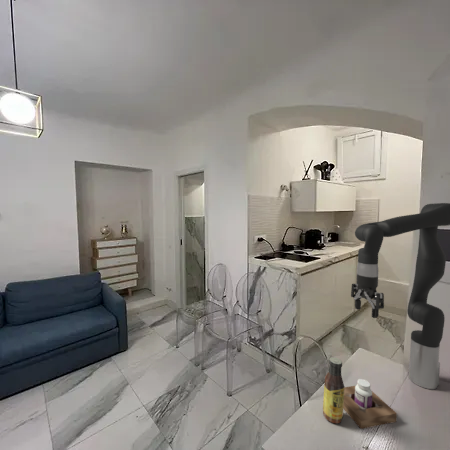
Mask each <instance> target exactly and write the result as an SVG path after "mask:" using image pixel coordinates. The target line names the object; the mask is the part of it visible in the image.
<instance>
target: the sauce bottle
mask: <svg viewBox="0 0 450 450" xmlns="http://www.w3.org/2000/svg"><path fill="white" fill-rule="evenodd" d="M328 363H329V370H328V372H327V373H326V375H325V376H324V385H323V401H322V402H323V404H322V414H323V416H324V418H325V419H326V420H327V421H328V422H330V423H333V424H340V423H341V422H342V419H343V417H344V409H343V403H344V387H345V384H344V381H343V377H342V367H343V361H342V360H341V359H340V358H338V357H333V356H331V357H330V358H329V361H328Z"/></svg>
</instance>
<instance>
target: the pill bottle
mask: <svg viewBox="0 0 450 450" xmlns="http://www.w3.org/2000/svg"><path fill="white" fill-rule="evenodd" d="M354 386H355V403H356V404H357V405H358V406H360V407H362V408H365V409H368V408H372V391H373V390H372V389H371V383H370V382H369V381H368V380H367V379H364V378H363V379H362V378H358V379H357V383H356V385H354Z"/></svg>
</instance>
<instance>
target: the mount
mask: <svg viewBox="0 0 450 450" xmlns="http://www.w3.org/2000/svg"><path fill="white" fill-rule="evenodd" d="M355 386H356V385H350V386H344V403H343V411H345V413H346V414H347V415H348V416H349V417H350V418H351V419H352V421H353V422H354V423H355V424H356V425H357V426H358V427H359V428H360V430H365V429H369V428H373V427H378V426H382V425H388V424H392V423H397V419H398V418H397V416H398V415H397V414H398V413H397V411H395V410H394V409H393V408H392V407H391V406H389V404H387V403H386V401H384V400H383V399H382V398H381V397H379V395H378V394H376V393H375V392H374V391H373V390H371V391H372V408H368V409H365V408H362V407H360V406H358V405H357V404H356V403H355Z"/></svg>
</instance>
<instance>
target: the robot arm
mask: <svg viewBox="0 0 450 450" xmlns="http://www.w3.org/2000/svg"><path fill="white" fill-rule="evenodd" d="M445 226H446V227H447V226H450V203H449V202H439V203H437V202H435V203H426V204H425V205H424V206H423V207H422V208H421V210H420V213H416V214H415V213H414V214H409V215H408V214H407V215H406V214H405V215H400V216H396V217H392V218H388V219H384V220H381V221H375V222H373V221H372V222H368V223H364V224H361V225H359V226H357V228H356V229H355V231H354V235H355V238H356V239H358V240H359V241H361V242H364V246H363V247H361V248H359V249H358V252H357V266H356V281H355V283H352V284H351V287H350V288H351V291H350V297H351V298H353V300H354V308H355V310H361V309H362V299H365V300H366V301H368V303H369V304H370V305H371V318H373V319H376V318H377V319H378V317H379V311H380V310H382V309H384V308H385V294H384V293H383V292H378V291H377V288H378V287H379V252H380V251H381V248H382V244H383V241H384V238H389V237H390V238H391V237H395V236H399V235H402V234H405V233H410V232H414V231H417V230H419V237H418V246H417V247H418V248H417V255H416V263H415V268H414V269H415V271H414V277H413V284H412V288H411V292H410V296H409V300H408V303H407V304H408V305H407V311H406V312H407V316H408V317H409V319H410V320H412V321H413V322H415V323H417V324H418V325H421V326H422V328H421V330H420V329H419V330H417V329H415V330H412V331H411V333H410V344H409V345H410V349H409V365H408V366H409V368H408V378H409V380H410V381H411V382H412V383H414V384H416V386H419V387H421V388H424V389H428V390H436V389H437V388H438V386H439V385H440V371H441V369H440V368H441V362H440V345H441V344H440V343H441V341H442V338H443V334H444V328H445V321H446V320H445V318H446V317H445V314H444V311H443V310H442V309H441V308H439V307H438V306H434V305H432V304H430V303H428V296H429V293H430V291H431V289H433V287H434V286H435V285H436V284H438V283H439V282H440V281H441V279H442V278H443V276H445V271H446V270H445V269H446V265H447V264H446V262H447V257H446V254H445V252H444V250H443V247H442V246H441V244H440V241H439V239H438V228H439V227H445Z"/></svg>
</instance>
